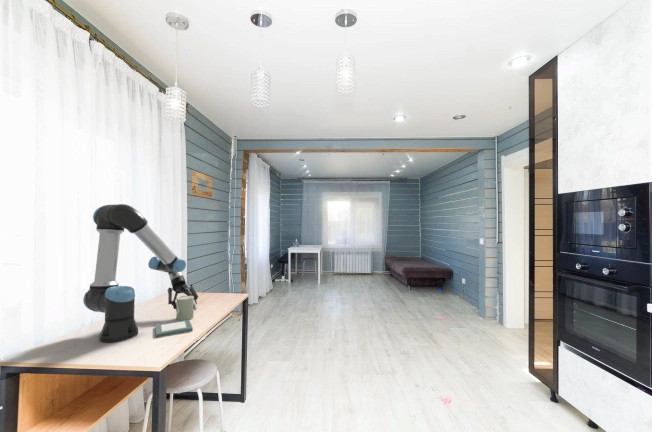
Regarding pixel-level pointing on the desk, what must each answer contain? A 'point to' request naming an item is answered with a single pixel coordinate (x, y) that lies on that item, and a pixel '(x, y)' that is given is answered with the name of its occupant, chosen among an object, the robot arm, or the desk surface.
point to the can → (185, 307)
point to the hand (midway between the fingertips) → (187, 311)
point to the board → (173, 328)
